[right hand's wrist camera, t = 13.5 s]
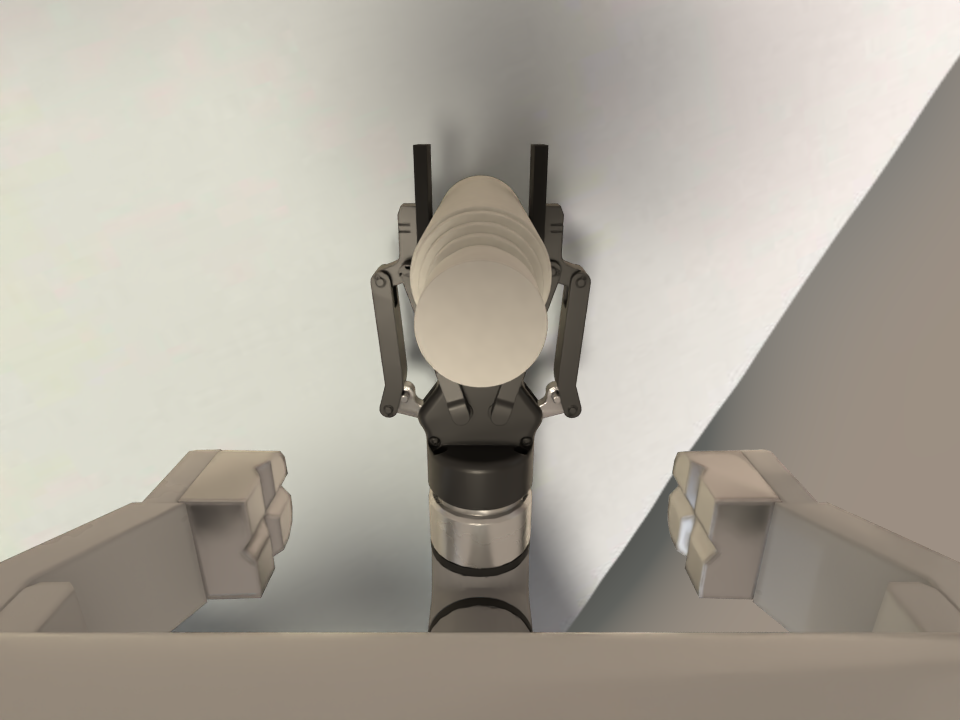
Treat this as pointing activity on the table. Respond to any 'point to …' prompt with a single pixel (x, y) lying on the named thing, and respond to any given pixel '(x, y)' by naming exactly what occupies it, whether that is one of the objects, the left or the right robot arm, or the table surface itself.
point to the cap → (480, 317)
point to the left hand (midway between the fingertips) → (480, 145)
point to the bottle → (480, 231)
